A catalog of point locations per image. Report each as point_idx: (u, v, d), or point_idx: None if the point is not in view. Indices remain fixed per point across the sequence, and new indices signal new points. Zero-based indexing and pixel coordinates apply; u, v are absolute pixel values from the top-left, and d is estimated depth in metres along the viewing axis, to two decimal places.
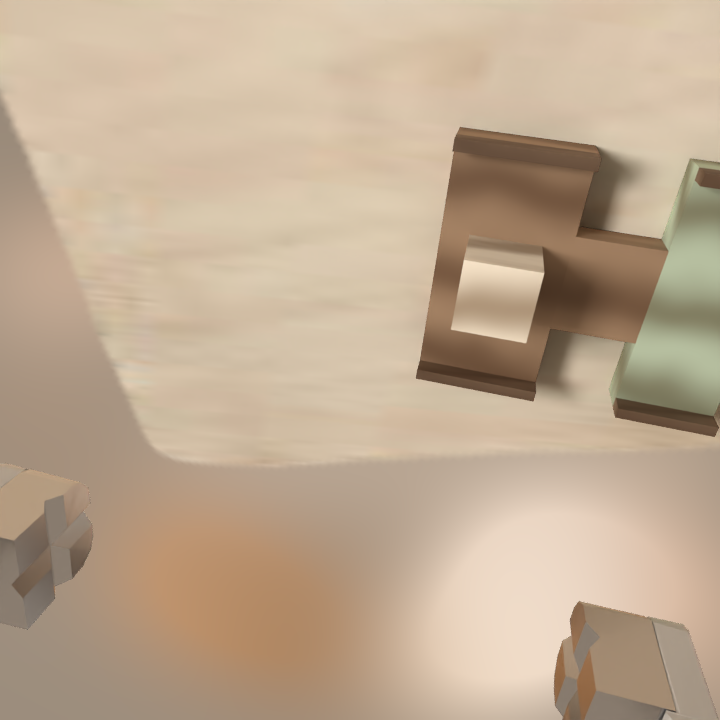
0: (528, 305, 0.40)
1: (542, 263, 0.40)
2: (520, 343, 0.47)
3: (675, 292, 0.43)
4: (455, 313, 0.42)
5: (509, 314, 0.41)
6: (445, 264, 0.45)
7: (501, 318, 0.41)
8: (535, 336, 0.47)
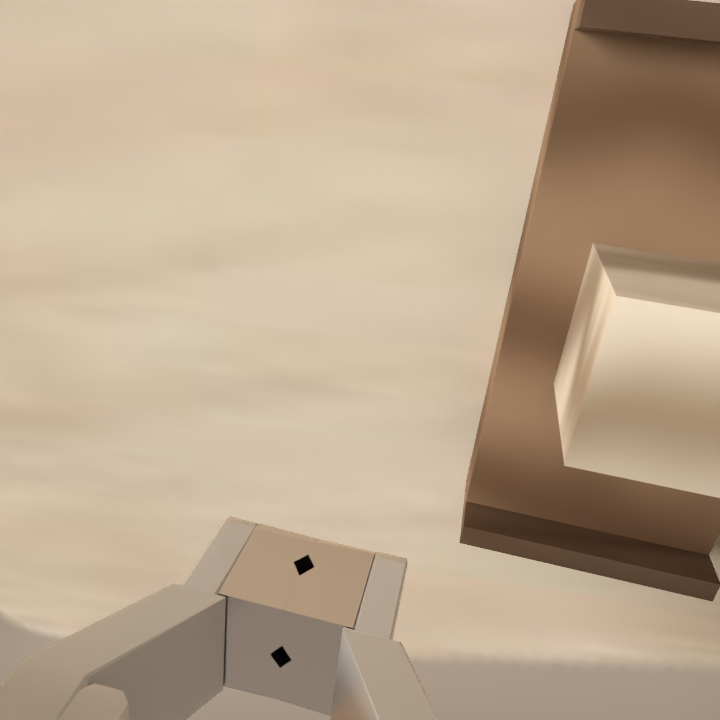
0: None
1: None
2: None
3: None
4: (581, 428, 0.17)
5: None
6: (533, 310, 0.21)
7: (700, 444, 0.16)
8: None
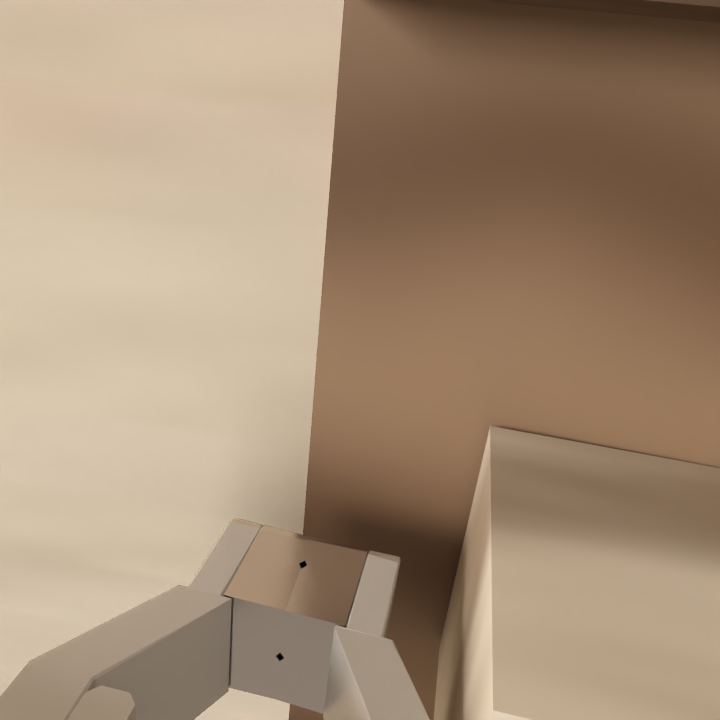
0: None
1: None
2: None
3: None
4: None
5: None
6: (344, 508, 0.12)
7: None
8: None
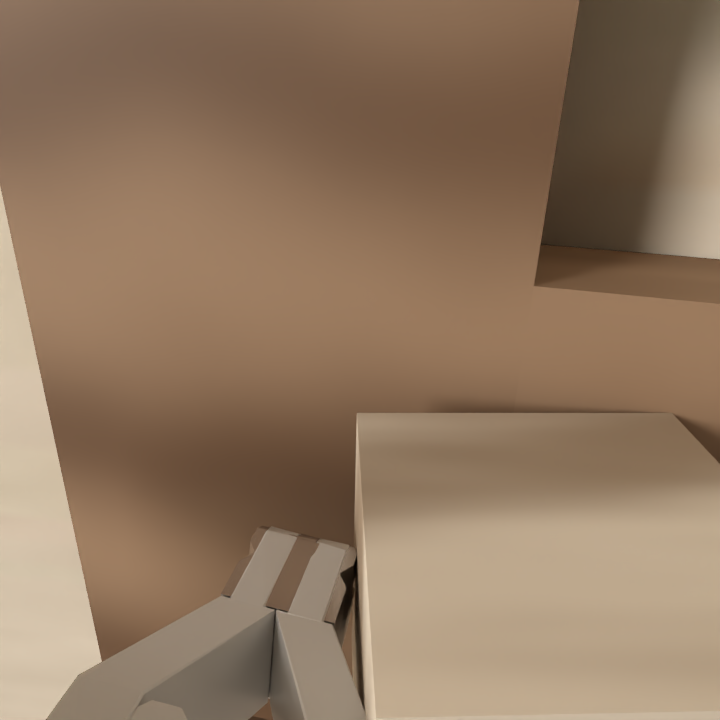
0: None
1: None
2: None
3: None
4: None
5: None
6: (80, 411, 0.13)
7: None
8: None
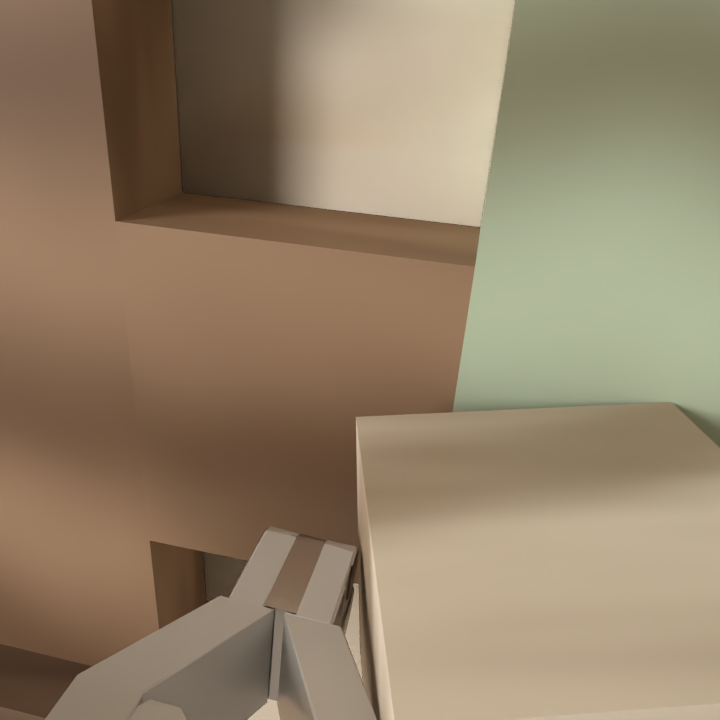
0: None
1: None
2: (83, 579, 0.15)
3: None
4: None
5: None
6: None
7: None
8: (116, 562, 0.14)
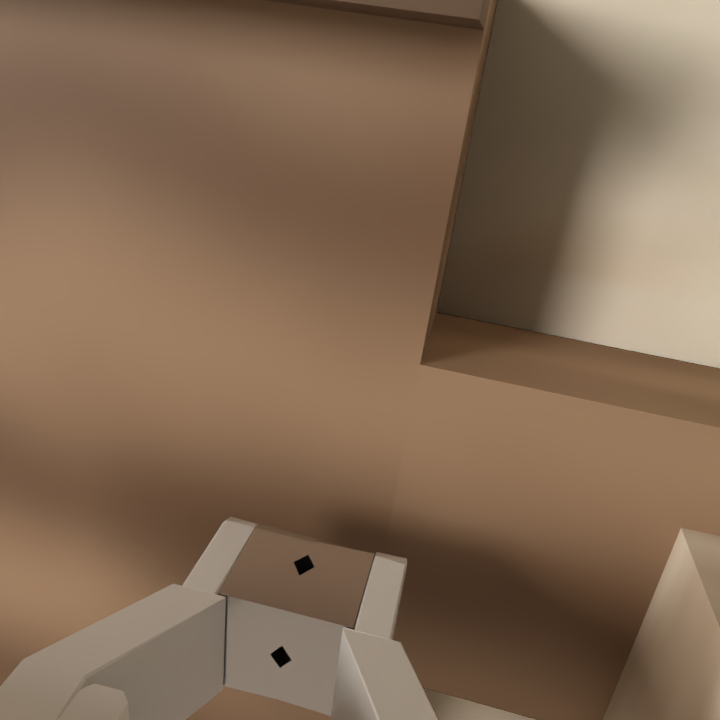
0: None
1: None
2: (271, 699, 0.14)
3: None
4: None
5: None
6: None
7: None
8: None
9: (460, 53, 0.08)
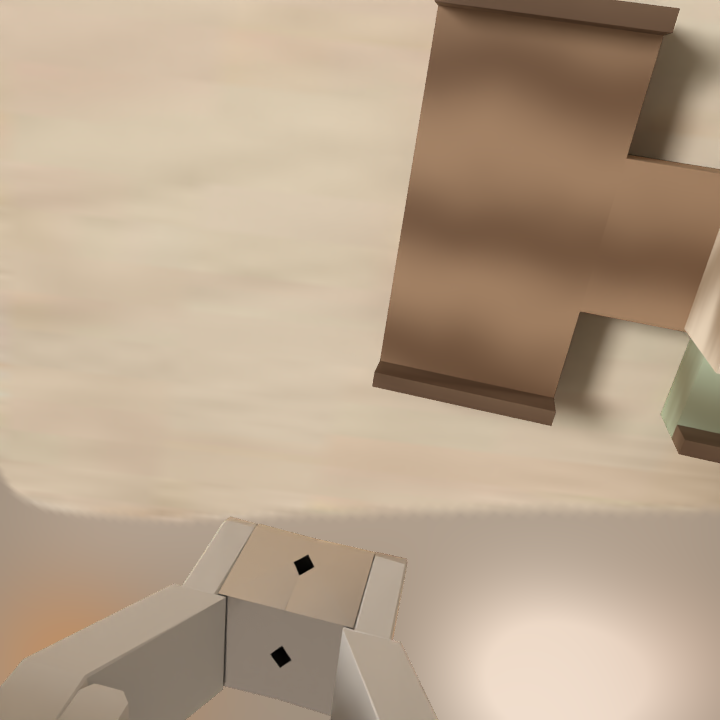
0: None
1: None
2: (532, 335, 0.31)
3: None
4: None
5: None
6: (421, 206, 0.29)
7: None
8: (556, 324, 0.30)
9: (654, 43, 0.25)
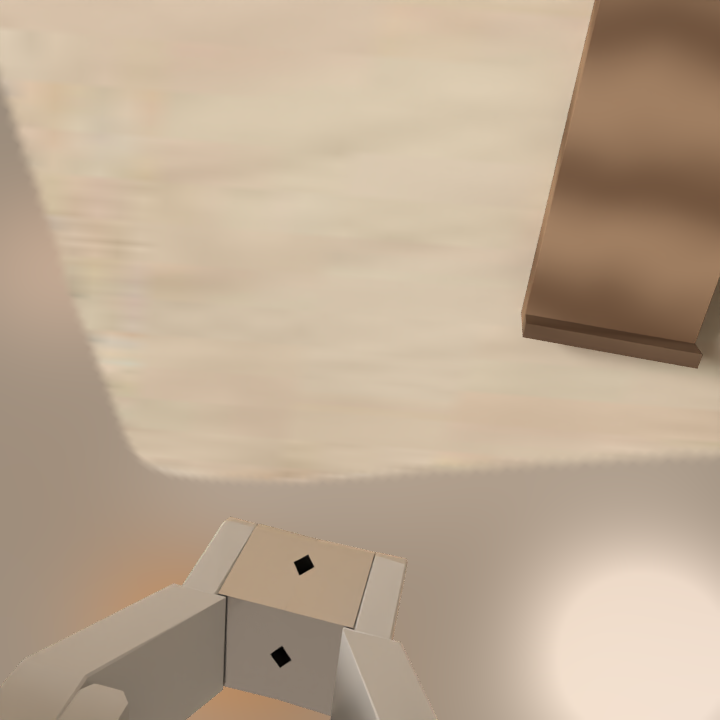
0: None
1: None
2: (678, 283, 0.33)
3: None
4: None
5: None
6: (576, 163, 0.31)
7: None
8: (702, 272, 0.32)
9: None
